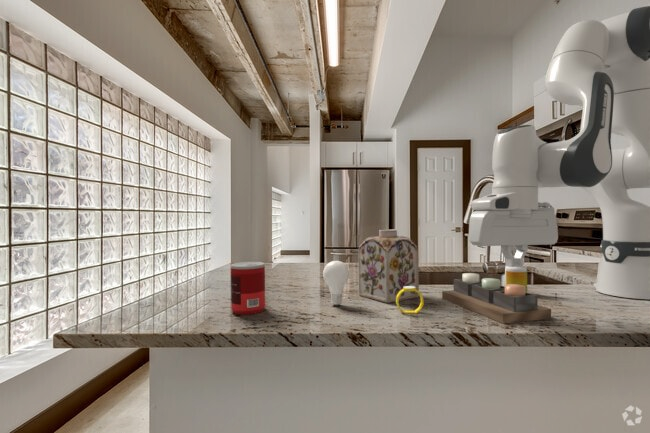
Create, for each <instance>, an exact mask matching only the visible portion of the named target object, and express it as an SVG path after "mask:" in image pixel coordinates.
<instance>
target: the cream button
mask: <svg viewBox="0 0 650 433" xmlns="http://www.w3.org/2000/svg"><path fill="white" fill-rule="evenodd" d="M461 275H462V278H461V279H462V281H463V282H467V283H477V282H479V280H480V274H479V273H474V272H464V273H461Z"/></svg>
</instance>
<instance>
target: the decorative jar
mask: <svg viewBox="0 0 650 433" xmlns="http://www.w3.org/2000/svg"><path fill="white" fill-rule="evenodd" d="M378 233H379V234H378V235H373V236H369V237H367V238H365V239H364V240H362V243H361V244H360V245H359V246H358V249H357V250H358V260H357V261H358V262H357V264H358V265H357V266H358V267H357V268H358V269H357V270H358V273H357V274H358V296H360V297H364V298H367V299H371V300H375V301H378V302H381V303H385V304H391V303H396V297H397V294H398V293H399V291H400V290H402V289H403V287H404V286H414V287H416V290H418V291H419V292H420V289H419V287H420V284H419V280H420V279H419V275H420V274H419V273H420V272H419V248H418V246H417V245H416V244H415V242H414V241H413V240H412V239H411V238H410V237H408V236H403V235H398V230H397V229H395V228H394V229H393V228H392V229H379V231H378ZM419 296H420V295H419V294H418V293H417V292H416V291H405V292H403V293H402V294H401V296H400V297H399V302H400V301H406V300H411V299H415V298H418V297H419Z"/></svg>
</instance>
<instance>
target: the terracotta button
mask: <svg viewBox="0 0 650 433" xmlns="http://www.w3.org/2000/svg"><path fill="white" fill-rule="evenodd" d="M504 286H505V294H507V295H510V296H513V297H515V296H525V286H523V285H518V284H506V285H505V284H504Z"/></svg>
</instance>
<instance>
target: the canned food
mask: <svg viewBox="0 0 650 433" xmlns="http://www.w3.org/2000/svg"><path fill="white" fill-rule="evenodd" d="M265 268H266V267H265V263H264V262H262V261H241V262H234V263H232V264H231V265H230V297H231V298H230V300H231V302H230V303H231V306H230V307H231V311H232V313H234V314H235V315H242V316H244V315H245V316H248V315H254V314H259V313H262V312H264V310H265V309H266V308H265V307H266V269H265Z"/></svg>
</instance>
